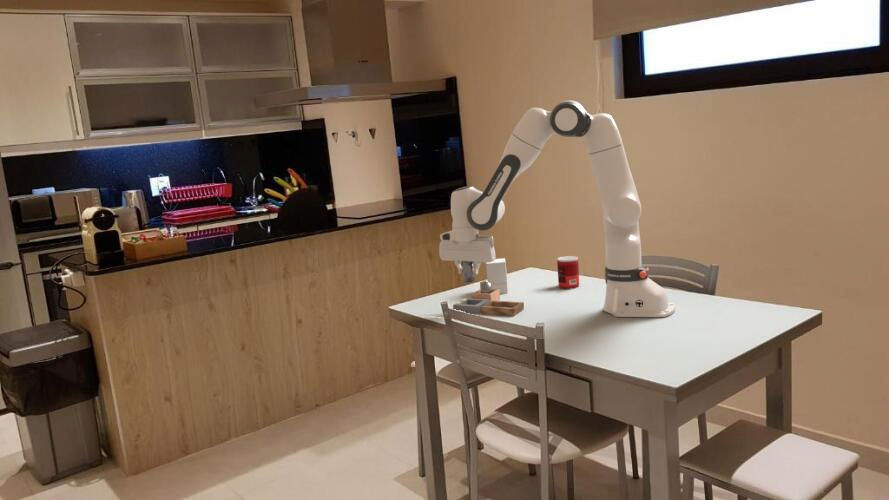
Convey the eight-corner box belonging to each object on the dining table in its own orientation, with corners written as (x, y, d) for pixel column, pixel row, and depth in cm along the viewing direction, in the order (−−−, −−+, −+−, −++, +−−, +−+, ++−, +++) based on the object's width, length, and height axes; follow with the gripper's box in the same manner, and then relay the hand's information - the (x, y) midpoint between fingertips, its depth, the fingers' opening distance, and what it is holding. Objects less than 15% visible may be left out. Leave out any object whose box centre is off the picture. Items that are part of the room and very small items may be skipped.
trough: (524, 310, 232) (523, 302, 231) (514, 317, 225) (514, 308, 225) (492, 308, 238) (491, 300, 237) (482, 315, 231) (481, 306, 231)
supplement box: (508, 290, 262) (505, 257, 259) (508, 295, 254) (505, 261, 252) (488, 291, 262) (486, 259, 260) (488, 296, 255) (485, 263, 253)
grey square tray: (490, 307, 239) (490, 298, 239) (479, 315, 232) (478, 306, 231) (465, 306, 244) (464, 297, 244) (453, 313, 237) (452, 304, 236)
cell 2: (494, 300, 246) (493, 280, 245) (489, 303, 243) (487, 282, 241) (484, 299, 248) (483, 279, 247) (479, 302, 245) (477, 281, 243)
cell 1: (476, 279, 237) (475, 258, 235) (471, 282, 233) (470, 260, 232) (466, 279, 239) (465, 258, 237) (461, 282, 235) (459, 260, 234)
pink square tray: (500, 301, 247) (499, 289, 246) (491, 306, 241) (490, 294, 240) (482, 300, 250) (481, 288, 249) (473, 305, 244) (472, 293, 243)
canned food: (582, 284, 260) (581, 256, 258) (574, 289, 253) (573, 260, 251) (563, 283, 264) (562, 255, 262) (555, 288, 258) (553, 260, 255)
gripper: (497, 233, 230) (499, 272, 233) (444, 232, 241) (447, 270, 243) (489, 236, 225) (491, 277, 228) (435, 235, 235) (438, 274, 238)
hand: (468, 273), depth 235 cm, fingers closed on cell 1, 4 cm apart
